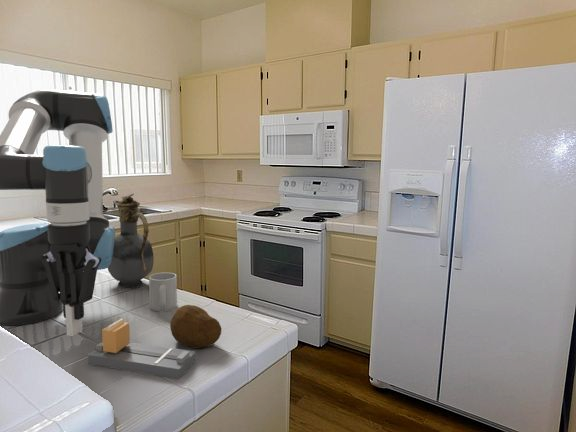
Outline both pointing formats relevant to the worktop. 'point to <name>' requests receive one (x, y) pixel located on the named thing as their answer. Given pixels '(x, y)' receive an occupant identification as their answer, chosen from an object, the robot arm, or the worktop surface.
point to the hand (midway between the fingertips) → (74, 332)
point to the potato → (194, 327)
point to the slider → (116, 336)
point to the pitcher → (131, 247)
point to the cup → (163, 291)
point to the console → (145, 359)
